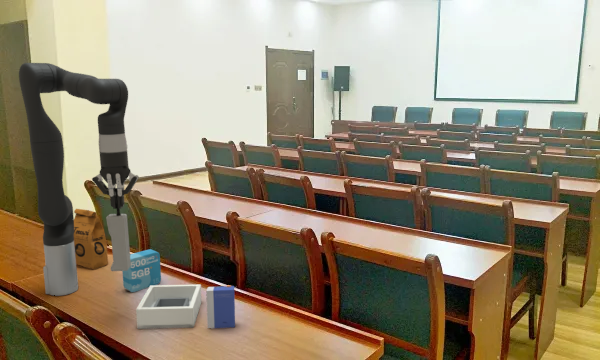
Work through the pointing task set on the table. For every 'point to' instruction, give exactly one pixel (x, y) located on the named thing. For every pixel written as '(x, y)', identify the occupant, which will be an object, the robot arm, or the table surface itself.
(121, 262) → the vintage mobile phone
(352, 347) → the table surface
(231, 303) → the walkman
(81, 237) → the coffee package
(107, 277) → the table surface
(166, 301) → the box
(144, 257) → the data package
